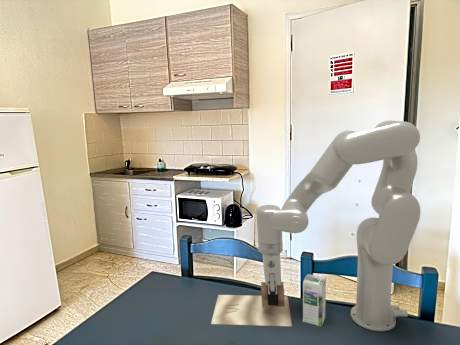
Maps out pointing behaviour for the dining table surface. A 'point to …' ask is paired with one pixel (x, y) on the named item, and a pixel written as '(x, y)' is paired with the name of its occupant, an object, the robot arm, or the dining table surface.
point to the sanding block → (265, 296)
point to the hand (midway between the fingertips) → (272, 299)
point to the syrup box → (314, 299)
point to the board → (249, 311)
